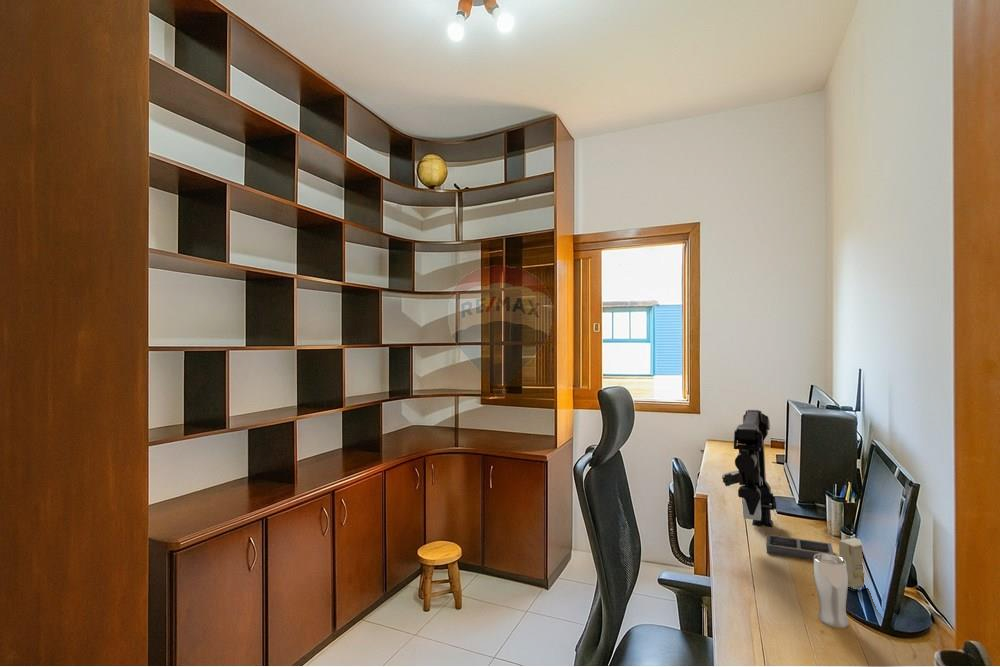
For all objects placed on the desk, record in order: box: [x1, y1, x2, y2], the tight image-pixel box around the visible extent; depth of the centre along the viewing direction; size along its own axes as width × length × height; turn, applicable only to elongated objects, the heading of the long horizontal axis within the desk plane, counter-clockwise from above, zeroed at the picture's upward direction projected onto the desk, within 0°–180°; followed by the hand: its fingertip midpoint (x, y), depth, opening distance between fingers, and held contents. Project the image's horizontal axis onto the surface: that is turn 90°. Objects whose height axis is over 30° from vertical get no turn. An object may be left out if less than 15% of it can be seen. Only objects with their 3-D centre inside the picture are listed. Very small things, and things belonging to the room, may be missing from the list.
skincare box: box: [838, 537, 864, 589], centre depth 132 cm, size 6×4×12 cm
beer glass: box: [812, 552, 850, 629], centre depth 117 cm, size 7×7×15 cm
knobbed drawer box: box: [742, 498, 761, 521], centre depth 159 cm, size 5×5×7 cm
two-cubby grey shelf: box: [765, 533, 834, 561], centre depth 154 cm, size 10×18×2 cm, turn 59°
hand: (752, 512), depth 158 cm, fingers closed on knobbed drawer box, 5 cm apart
